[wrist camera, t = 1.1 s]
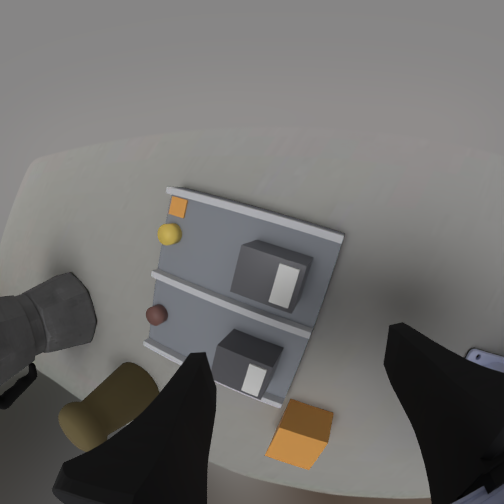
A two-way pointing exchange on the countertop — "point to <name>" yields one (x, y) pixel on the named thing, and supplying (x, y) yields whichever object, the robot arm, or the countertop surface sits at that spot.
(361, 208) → the countertop surface
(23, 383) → the coffeepot
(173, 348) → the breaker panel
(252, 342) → the toggle
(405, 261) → the countertop surface
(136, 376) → the cork
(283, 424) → the block
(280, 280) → the toggle
